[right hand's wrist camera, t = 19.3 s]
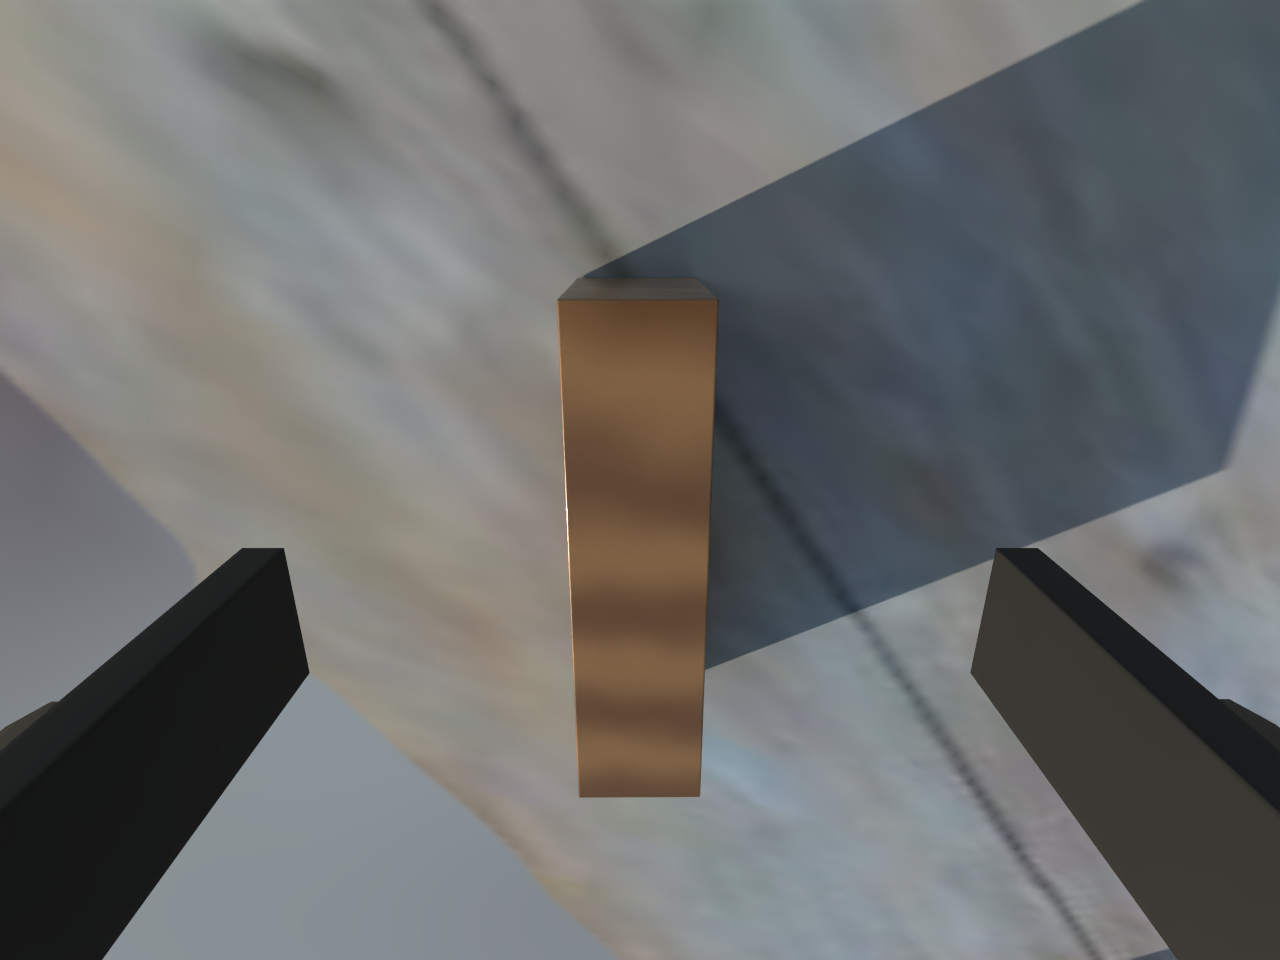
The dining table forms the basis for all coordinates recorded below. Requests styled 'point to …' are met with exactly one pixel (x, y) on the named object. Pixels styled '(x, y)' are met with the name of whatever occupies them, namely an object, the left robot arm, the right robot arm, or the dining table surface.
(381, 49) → the dining table surface
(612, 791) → the box
